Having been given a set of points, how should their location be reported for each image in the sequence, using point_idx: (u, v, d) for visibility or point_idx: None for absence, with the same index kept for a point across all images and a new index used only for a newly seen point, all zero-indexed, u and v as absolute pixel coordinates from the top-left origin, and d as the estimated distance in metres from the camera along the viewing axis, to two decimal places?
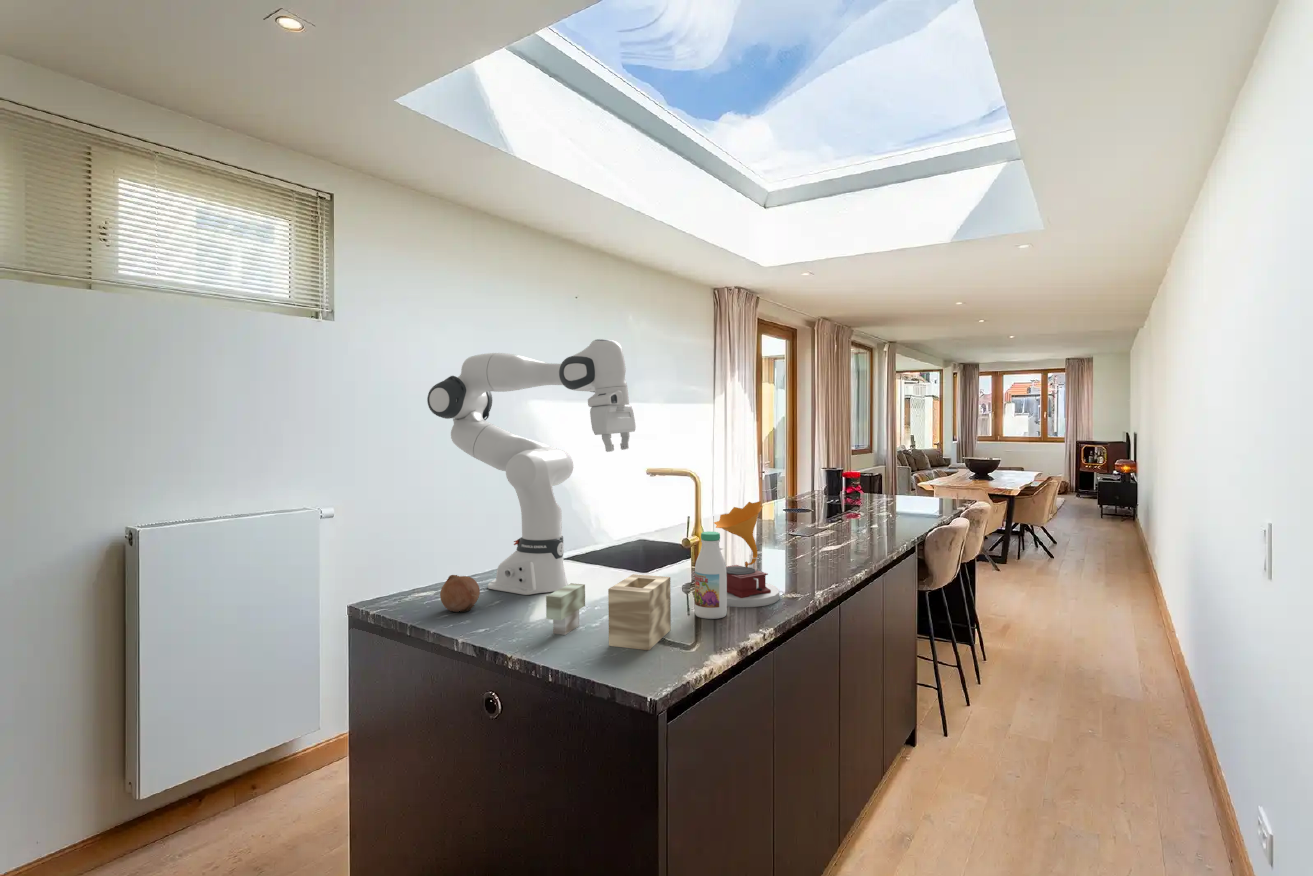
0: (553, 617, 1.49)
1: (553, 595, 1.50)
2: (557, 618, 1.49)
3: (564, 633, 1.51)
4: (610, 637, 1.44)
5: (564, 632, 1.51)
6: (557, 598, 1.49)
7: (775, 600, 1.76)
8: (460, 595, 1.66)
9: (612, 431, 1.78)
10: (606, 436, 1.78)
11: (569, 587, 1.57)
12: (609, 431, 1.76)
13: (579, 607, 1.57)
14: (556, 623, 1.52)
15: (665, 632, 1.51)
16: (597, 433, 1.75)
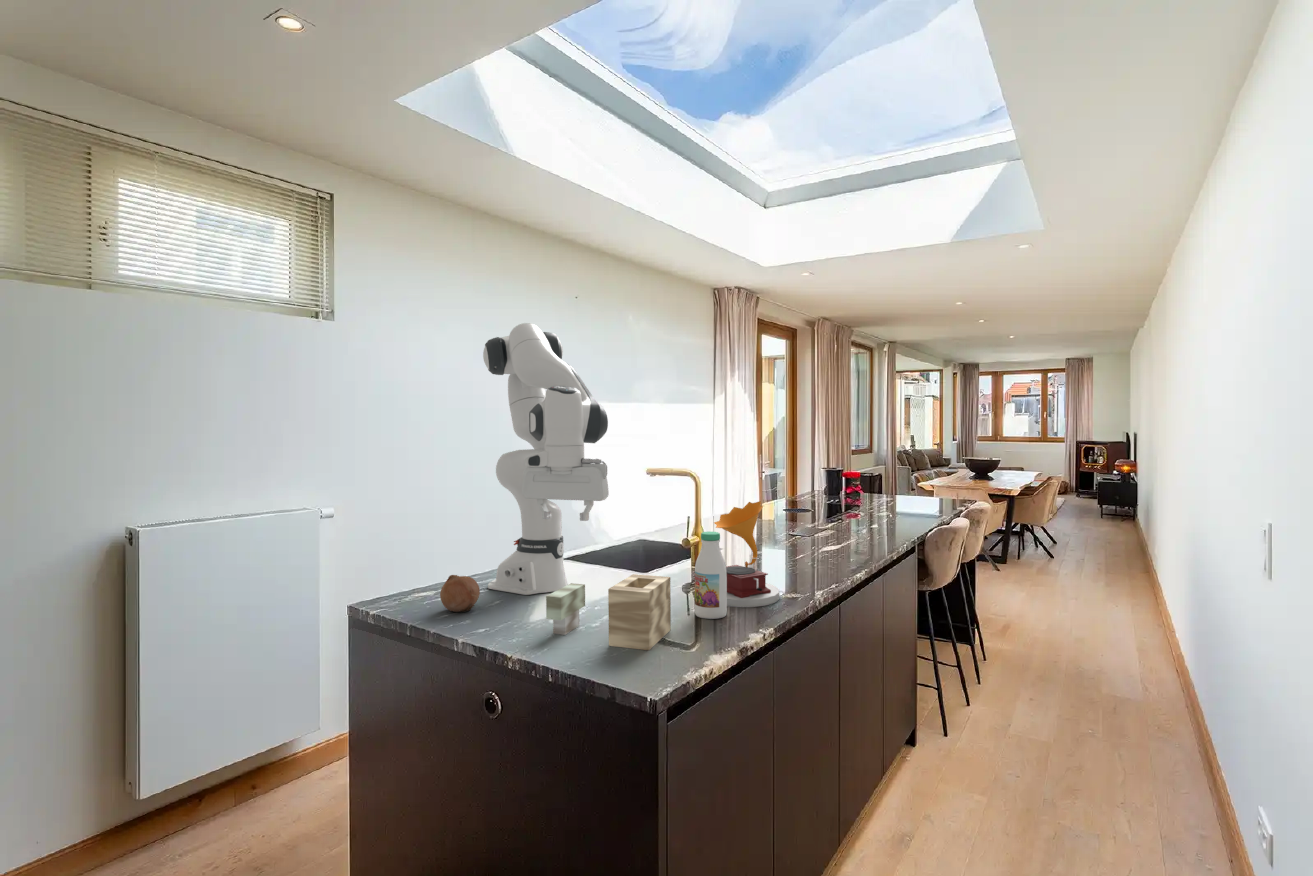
0: (553, 617, 1.49)
1: (553, 595, 1.50)
2: (557, 618, 1.49)
3: (564, 633, 1.51)
4: (610, 637, 1.44)
5: (564, 632, 1.51)
6: (557, 598, 1.49)
7: (775, 600, 1.76)
8: (460, 595, 1.66)
9: (538, 497, 1.54)
10: None
11: (569, 587, 1.57)
12: (531, 496, 1.55)
13: (579, 607, 1.57)
14: (556, 623, 1.52)
15: (665, 632, 1.51)
16: None
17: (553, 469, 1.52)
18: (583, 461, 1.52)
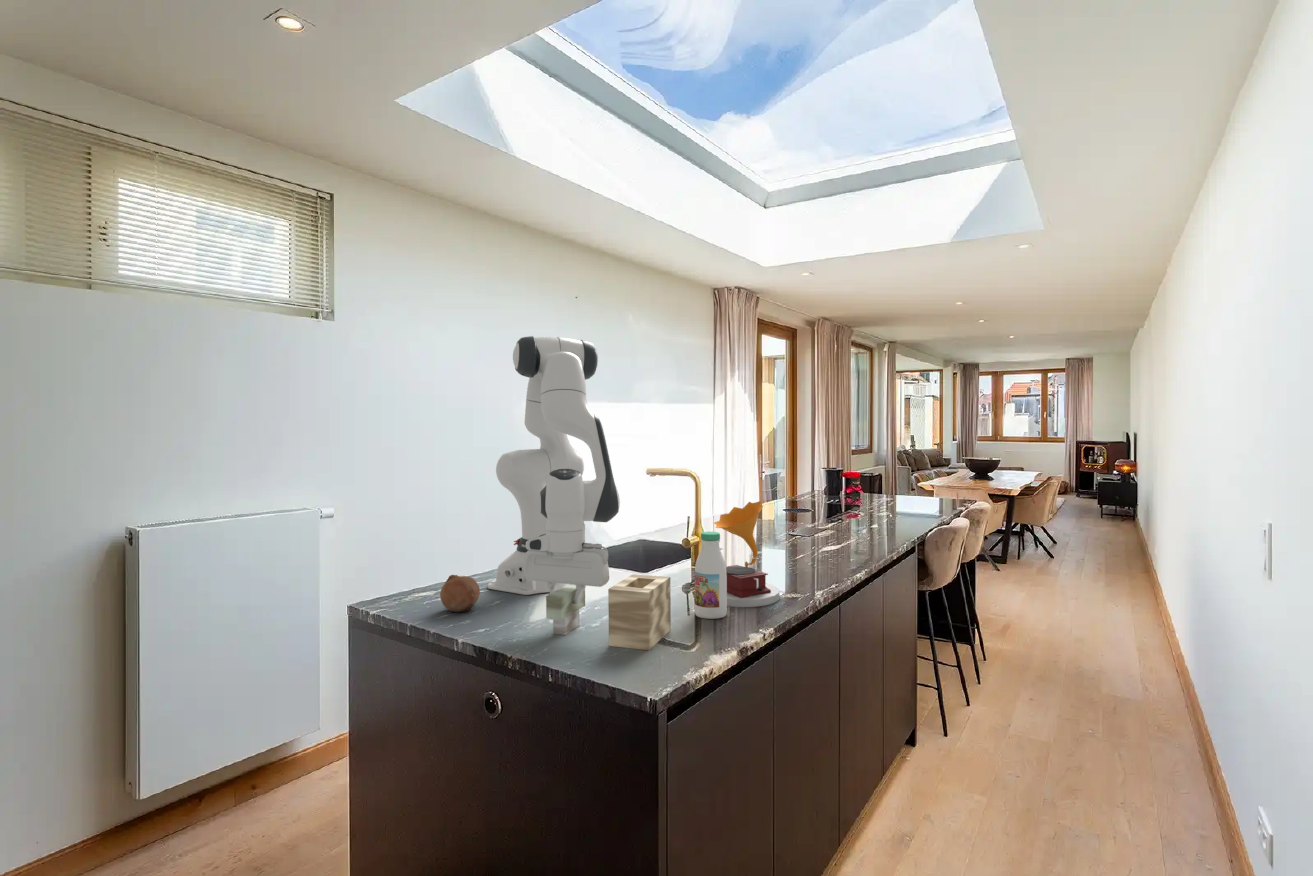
0: (553, 617, 1.49)
1: (553, 595, 1.50)
2: (557, 618, 1.49)
3: (564, 633, 1.51)
4: (610, 637, 1.44)
5: (564, 632, 1.51)
6: (557, 598, 1.49)
7: (775, 600, 1.76)
8: (460, 595, 1.66)
9: (540, 579, 1.55)
10: None
11: (569, 587, 1.57)
12: (532, 579, 1.56)
13: (579, 607, 1.57)
14: (556, 623, 1.52)
15: (665, 632, 1.51)
16: None
17: (554, 554, 1.52)
18: (584, 546, 1.52)
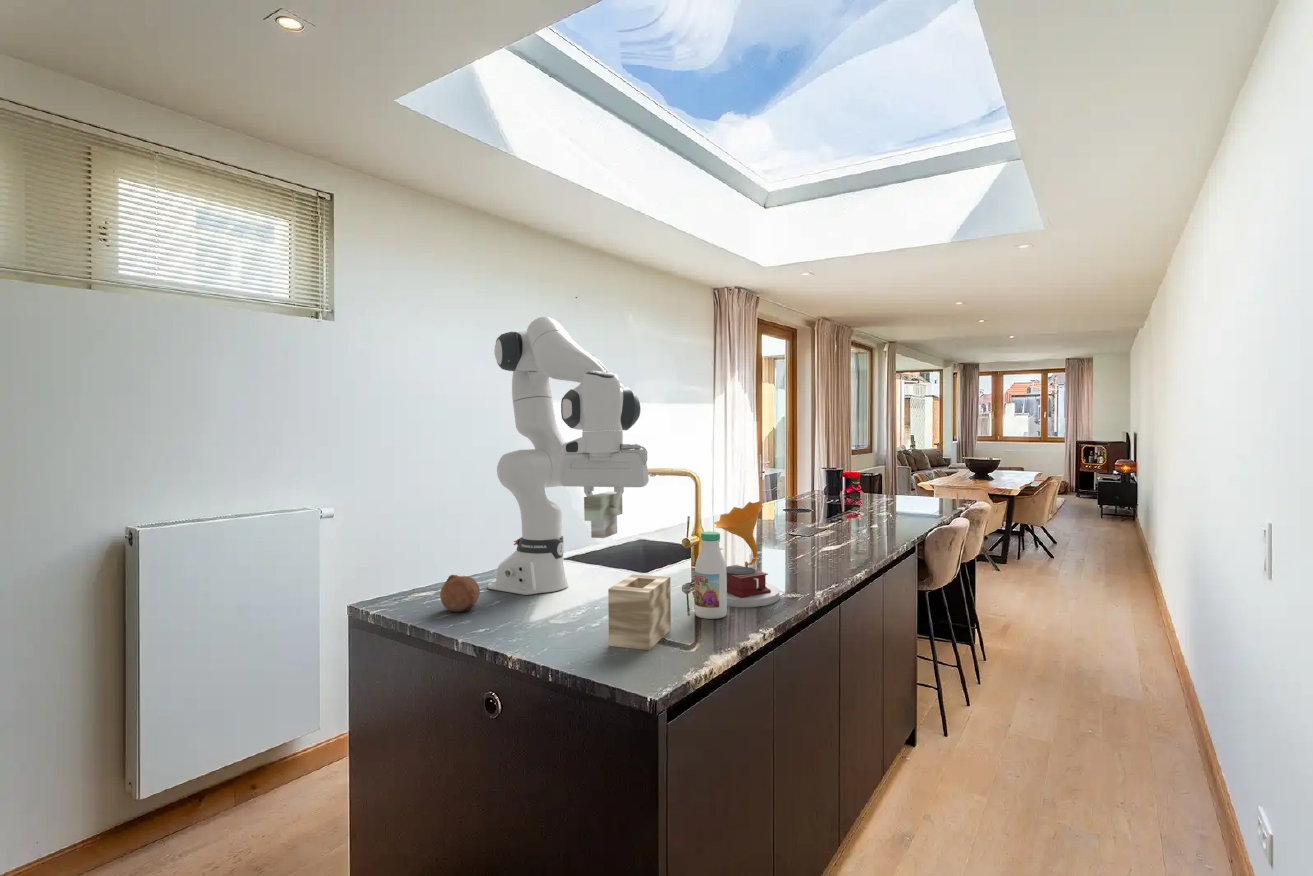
0: (591, 518, 1.45)
1: (591, 496, 1.46)
2: (596, 519, 1.45)
3: (603, 536, 1.47)
4: (610, 637, 1.44)
5: (603, 535, 1.47)
6: (595, 498, 1.44)
7: (775, 600, 1.76)
8: (460, 595, 1.66)
9: (576, 484, 1.51)
10: None
11: (606, 493, 1.53)
12: (569, 484, 1.51)
13: (617, 513, 1.53)
14: (595, 527, 1.47)
15: (665, 632, 1.51)
16: None
17: (591, 455, 1.48)
18: (622, 447, 1.48)
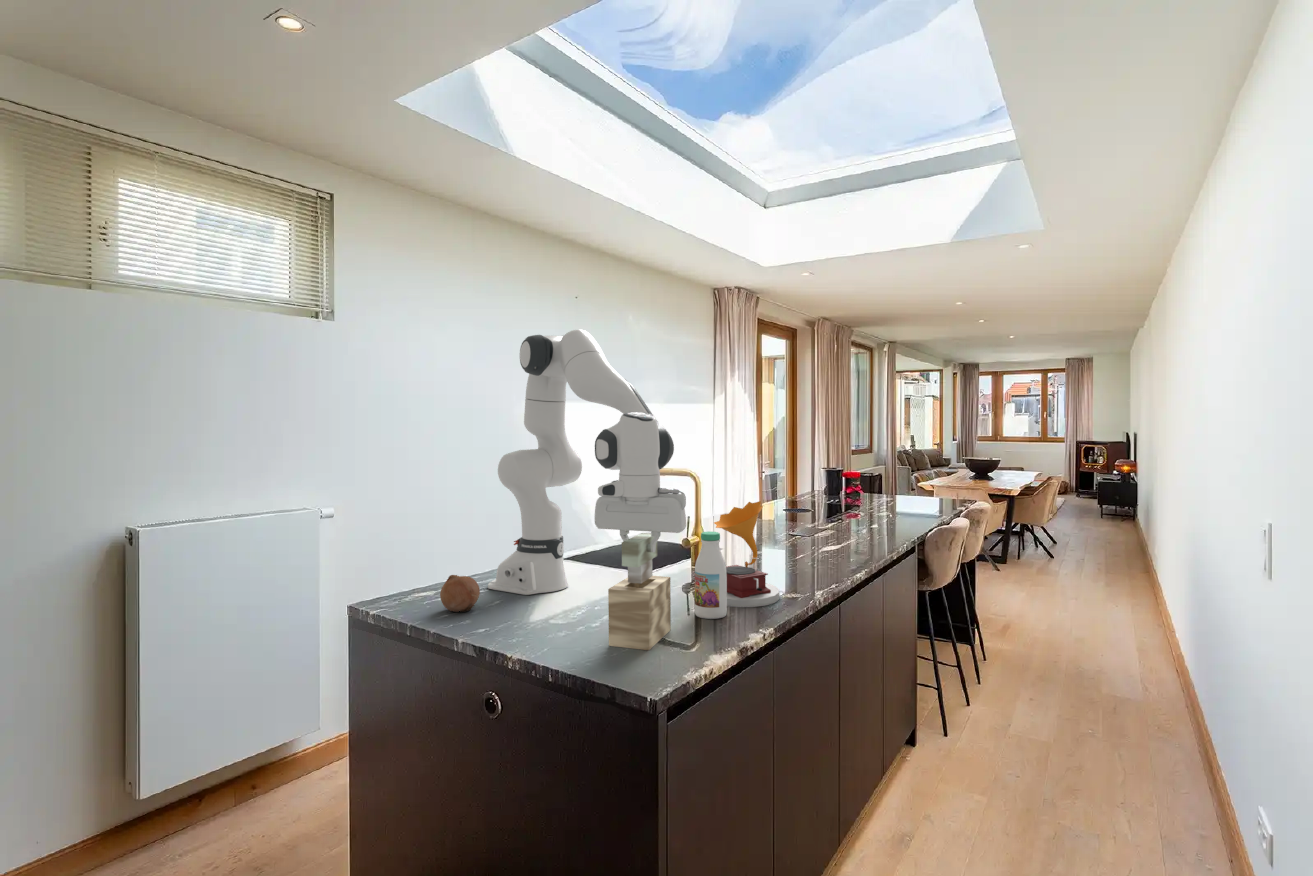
0: (629, 564, 1.43)
1: (629, 541, 1.44)
2: (633, 565, 1.42)
3: (640, 582, 1.45)
4: (610, 637, 1.44)
5: (640, 581, 1.45)
6: (634, 544, 1.42)
7: (775, 600, 1.76)
8: (460, 595, 1.66)
9: (612, 527, 1.49)
10: None
11: (642, 536, 1.51)
12: (605, 527, 1.49)
13: (652, 556, 1.51)
14: (631, 571, 1.45)
15: (665, 632, 1.51)
16: None
17: (629, 499, 1.46)
18: (660, 491, 1.46)
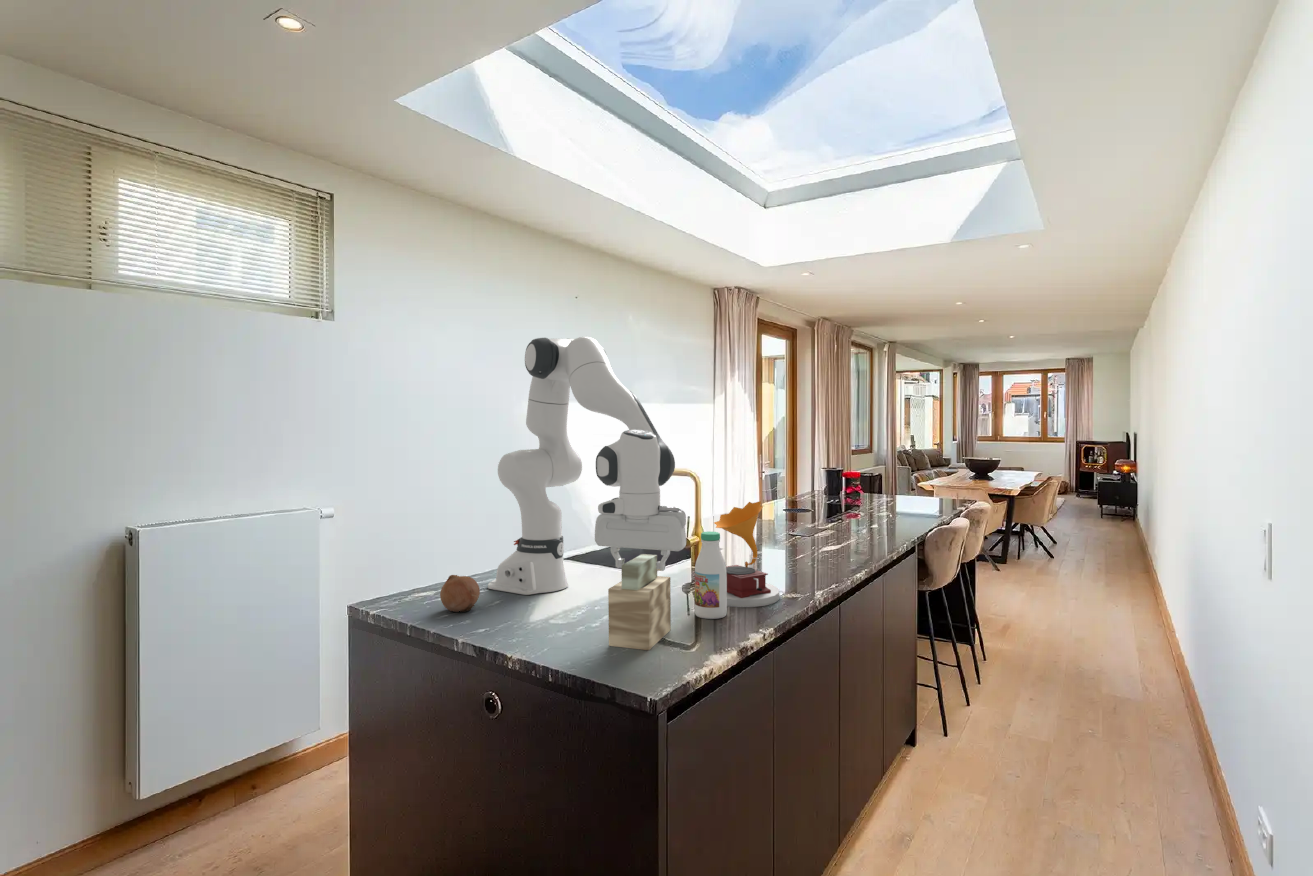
0: (629, 587, 1.43)
1: (628, 564, 1.44)
2: (633, 588, 1.43)
3: None
4: (610, 637, 1.44)
5: None
6: (633, 567, 1.43)
7: (775, 600, 1.76)
8: (460, 595, 1.66)
9: (612, 545, 1.49)
10: None
11: (642, 557, 1.51)
12: (605, 544, 1.49)
13: (652, 578, 1.51)
14: None
15: (665, 632, 1.51)
16: None
17: (629, 517, 1.46)
18: (660, 509, 1.46)
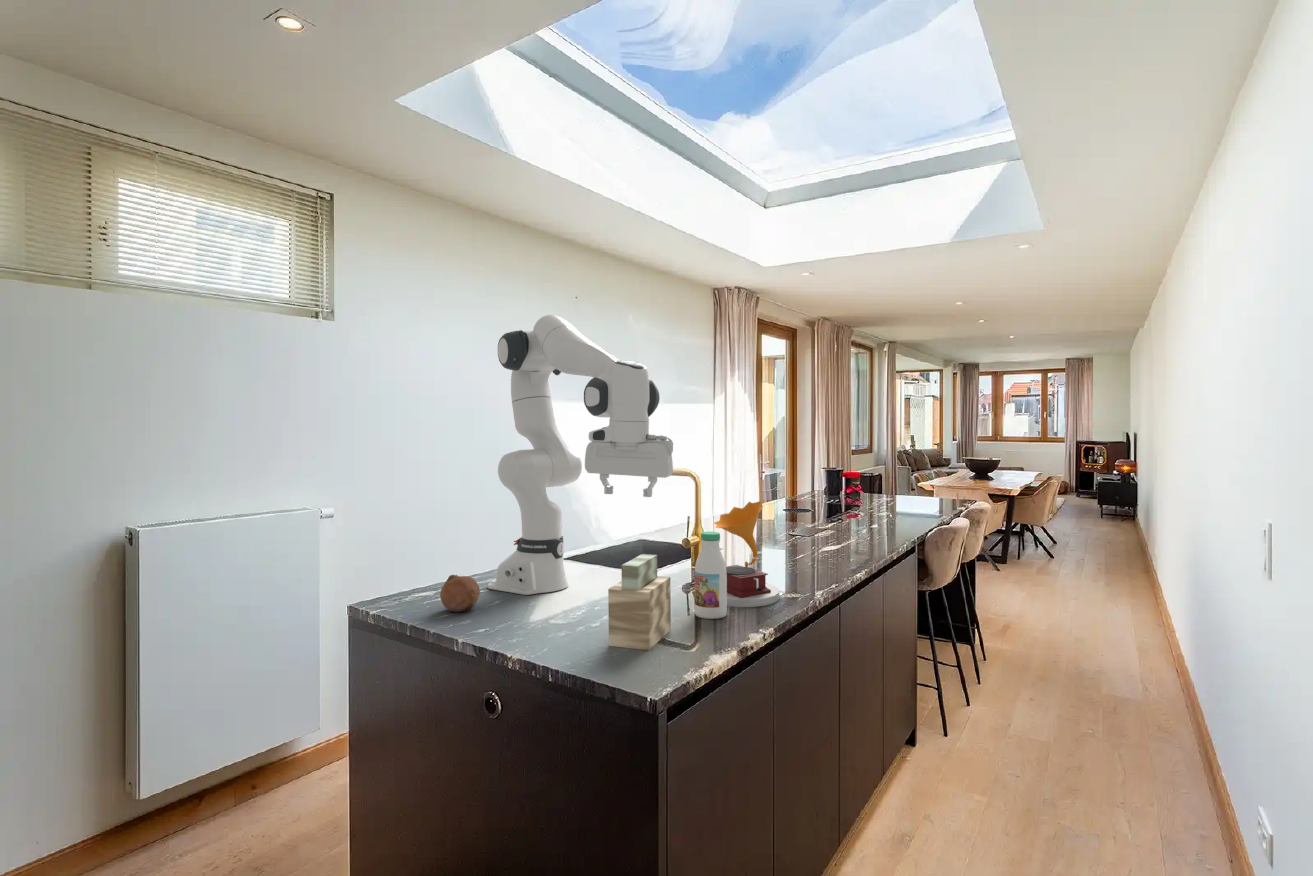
0: (629, 587, 1.43)
1: (628, 564, 1.44)
2: (633, 588, 1.43)
3: None
4: (610, 637, 1.44)
5: None
6: (633, 567, 1.43)
7: (775, 600, 1.76)
8: (460, 595, 1.66)
9: (601, 471, 1.54)
10: None
11: (642, 557, 1.51)
12: (594, 471, 1.54)
13: (652, 578, 1.51)
14: None
15: (665, 632, 1.51)
16: None
17: (618, 444, 1.51)
18: (648, 437, 1.51)
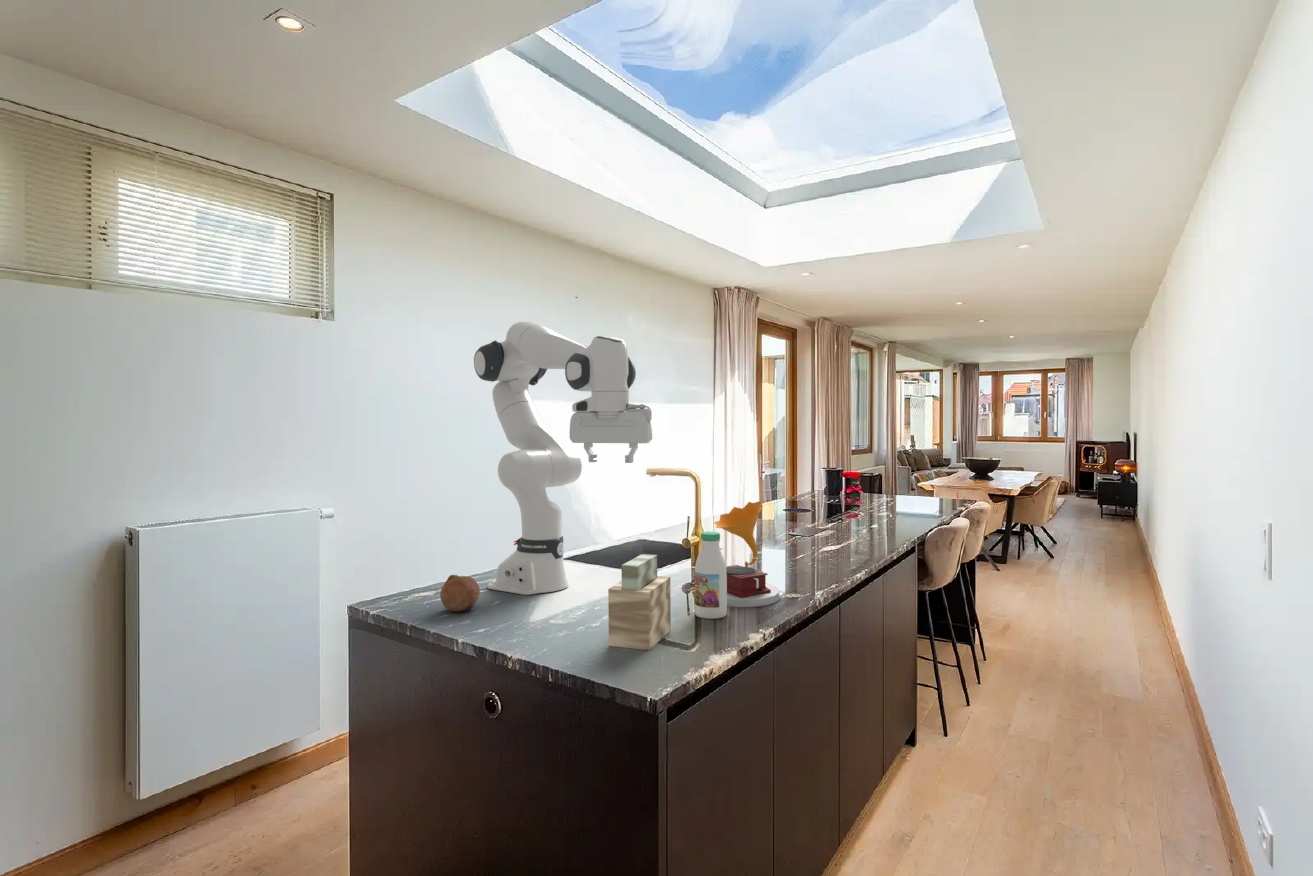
0: (629, 587, 1.43)
1: (628, 564, 1.44)
2: (633, 588, 1.43)
3: None
4: (610, 637, 1.44)
5: None
6: (633, 567, 1.43)
7: (775, 600, 1.76)
8: (460, 595, 1.66)
9: (585, 441, 1.63)
10: None
11: (642, 557, 1.51)
12: (578, 440, 1.64)
13: (652, 578, 1.51)
14: None
15: (665, 632, 1.51)
16: None
17: (600, 414, 1.61)
18: (628, 406, 1.60)
